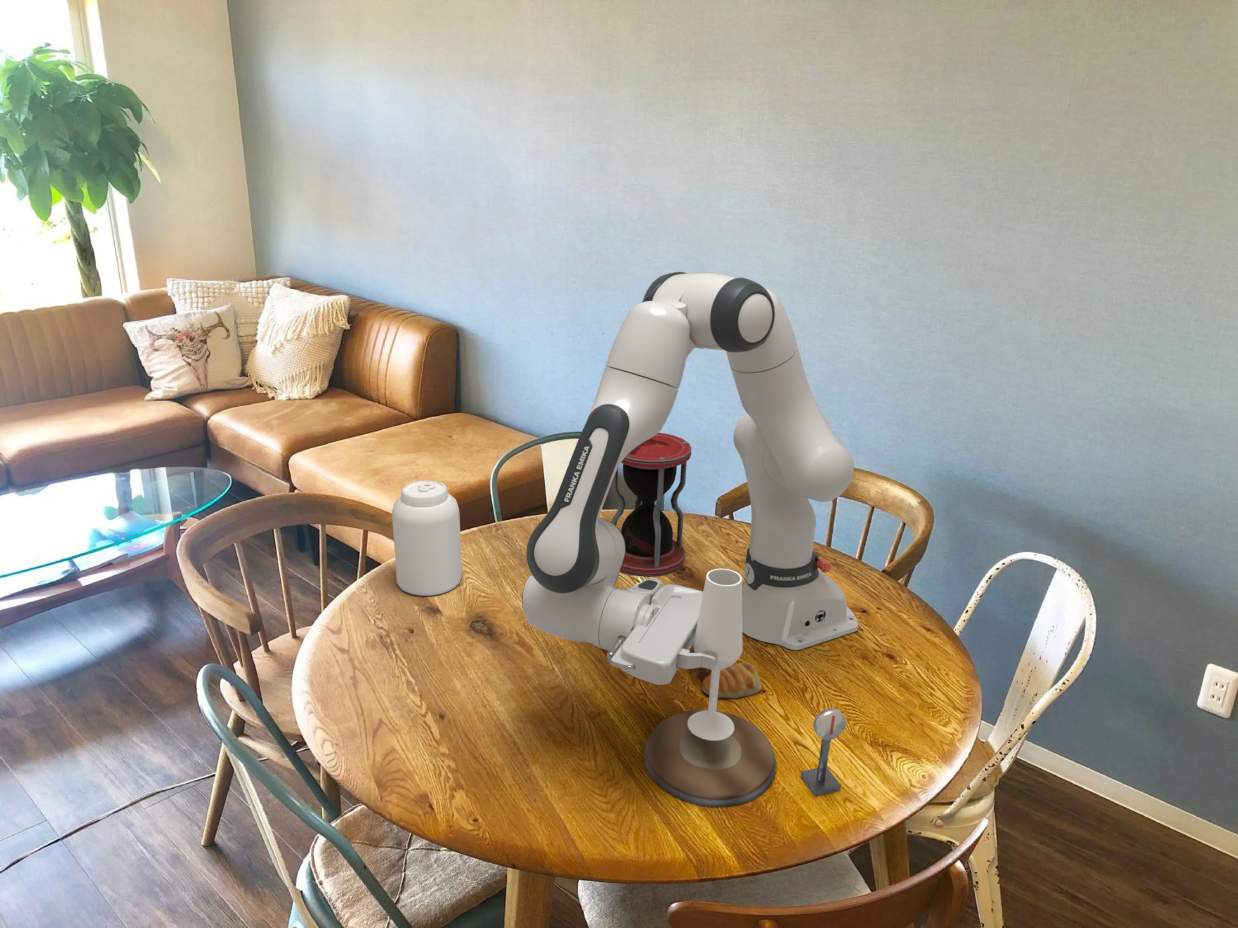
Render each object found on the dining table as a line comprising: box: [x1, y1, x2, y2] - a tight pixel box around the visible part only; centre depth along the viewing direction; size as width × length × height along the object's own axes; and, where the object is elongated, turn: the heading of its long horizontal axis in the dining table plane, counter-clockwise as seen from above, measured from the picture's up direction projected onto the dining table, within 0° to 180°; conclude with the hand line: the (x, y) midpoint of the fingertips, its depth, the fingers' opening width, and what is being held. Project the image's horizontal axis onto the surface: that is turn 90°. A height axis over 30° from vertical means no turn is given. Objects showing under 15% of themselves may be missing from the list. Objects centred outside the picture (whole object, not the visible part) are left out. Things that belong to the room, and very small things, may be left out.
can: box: [391, 479, 463, 597], centre depth 175 cm, size 12×12×20 cm
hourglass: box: [610, 432, 692, 577], centre depth 186 cm, size 16×16×25 cm
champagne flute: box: [687, 568, 743, 741], centre depth 127 cm, size 7×7×24 cm
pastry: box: [701, 660, 762, 700], centre depth 149 cm, size 9×7×4 cm
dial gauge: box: [800, 707, 847, 797], centre depth 127 cm, size 4×4×13 cm
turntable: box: [643, 709, 777, 808], centre depth 133 cm, size 19×19×2 cm
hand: (724, 646), depth 126 cm, fingers closed on champagne flute, 7 cm apart
